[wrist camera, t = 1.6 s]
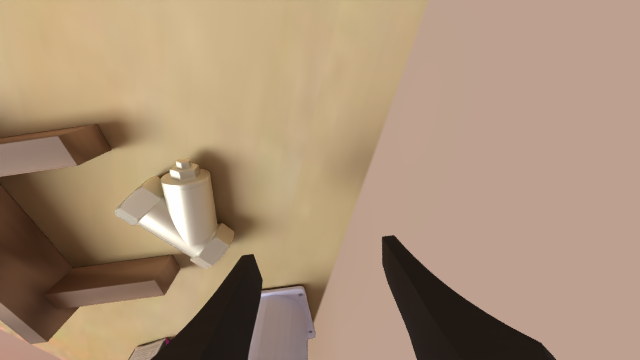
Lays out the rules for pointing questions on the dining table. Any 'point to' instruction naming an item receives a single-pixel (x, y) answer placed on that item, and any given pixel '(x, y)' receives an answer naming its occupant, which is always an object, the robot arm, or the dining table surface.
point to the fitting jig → (45, 260)
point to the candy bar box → (148, 350)
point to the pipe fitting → (180, 213)
